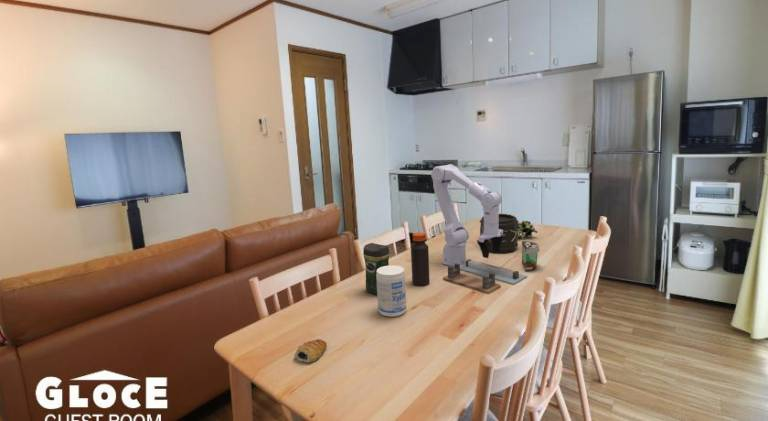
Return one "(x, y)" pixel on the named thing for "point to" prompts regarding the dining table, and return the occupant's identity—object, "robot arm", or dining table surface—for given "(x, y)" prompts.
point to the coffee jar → (374, 263)
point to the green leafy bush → (525, 229)
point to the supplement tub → (391, 290)
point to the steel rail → (492, 269)
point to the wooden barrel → (505, 233)
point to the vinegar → (420, 260)
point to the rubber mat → (497, 277)
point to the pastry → (310, 350)
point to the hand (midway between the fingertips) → (490, 255)
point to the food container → (529, 255)
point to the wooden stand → (472, 280)
